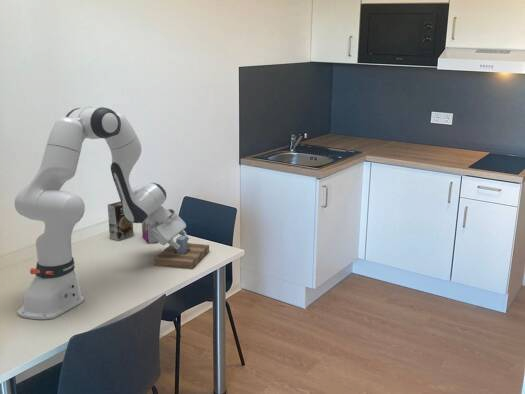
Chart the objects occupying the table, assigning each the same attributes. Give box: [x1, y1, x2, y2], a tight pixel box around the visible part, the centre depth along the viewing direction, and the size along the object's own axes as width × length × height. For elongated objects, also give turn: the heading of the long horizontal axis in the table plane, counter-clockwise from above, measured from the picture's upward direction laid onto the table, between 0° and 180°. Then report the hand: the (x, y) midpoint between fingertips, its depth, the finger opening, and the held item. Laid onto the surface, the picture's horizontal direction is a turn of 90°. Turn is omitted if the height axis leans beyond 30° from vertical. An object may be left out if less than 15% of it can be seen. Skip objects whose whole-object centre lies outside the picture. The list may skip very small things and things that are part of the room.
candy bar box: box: [141, 219, 159, 245], centre depth 251 cm, size 11×5×16 cm, turn 25°
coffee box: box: [107, 200, 134, 242], centre depth 254 cm, size 9×6×16 cm
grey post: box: [175, 235, 189, 255], centre depth 229 cm, size 4×3×9 cm, turn 166°
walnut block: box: [153, 242, 210, 270], centre depth 230 cm, size 20×16×3 cm
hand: (183, 244), depth 229 cm, fingers open, 8 cm apart
